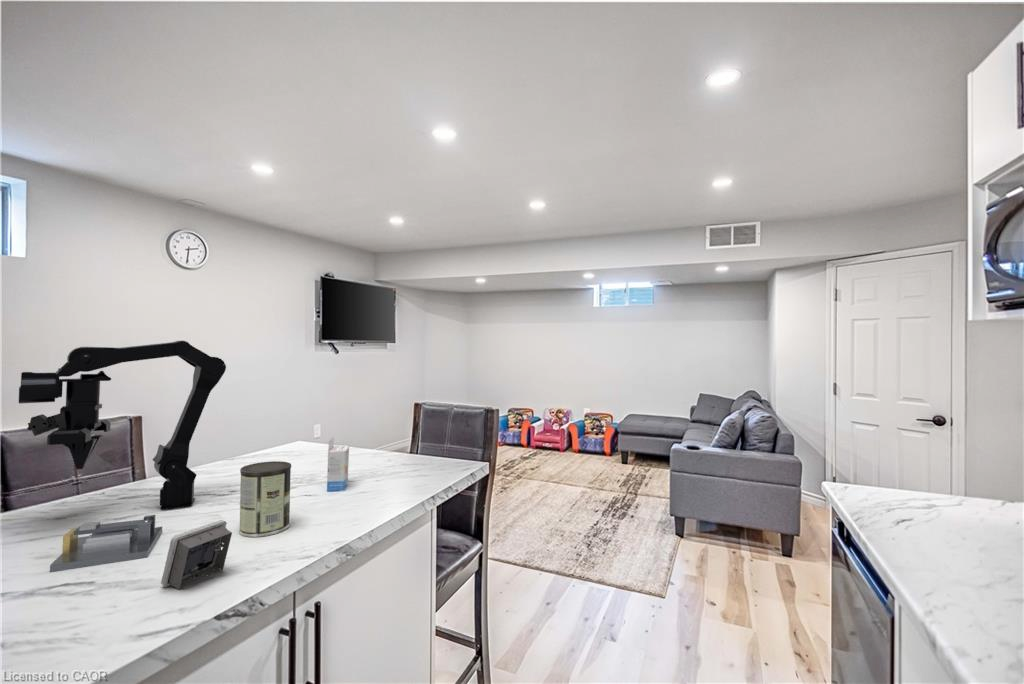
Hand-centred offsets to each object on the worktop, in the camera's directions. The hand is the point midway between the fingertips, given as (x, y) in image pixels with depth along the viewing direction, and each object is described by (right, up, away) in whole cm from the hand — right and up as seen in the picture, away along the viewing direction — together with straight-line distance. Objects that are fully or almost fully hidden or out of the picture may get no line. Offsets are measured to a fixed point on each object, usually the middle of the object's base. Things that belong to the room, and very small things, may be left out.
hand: (80, 468), depth 106 cm
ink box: (+48, -14, +31) cm, 59 cm away
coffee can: (+43, -13, -1) cm, 45 cm away
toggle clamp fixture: (+19, -13, -14) cm, 27 cm away
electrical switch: (+44, -13, -25) cm, 52 cm away
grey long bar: (+20, -9, -14) cm, 25 cm away
